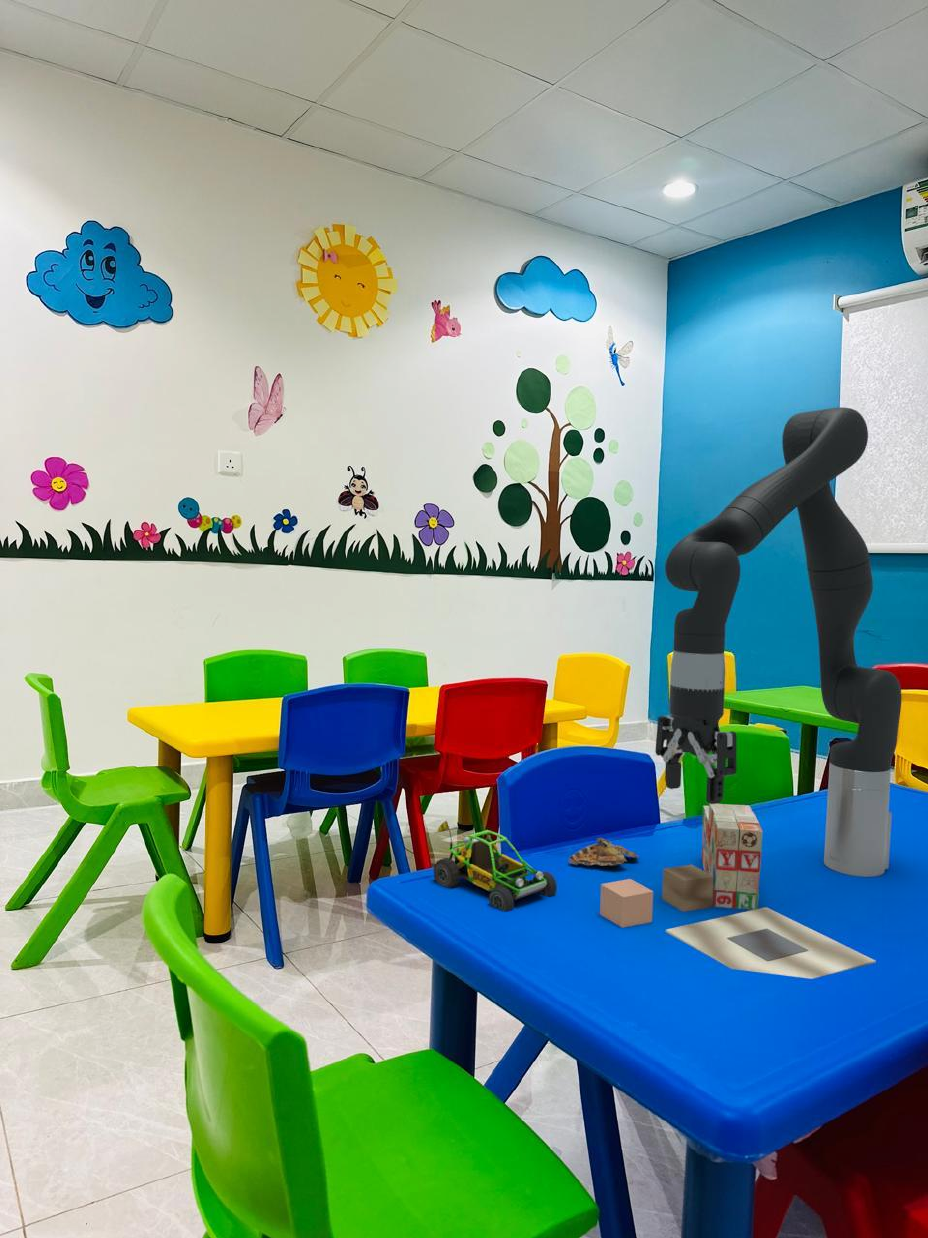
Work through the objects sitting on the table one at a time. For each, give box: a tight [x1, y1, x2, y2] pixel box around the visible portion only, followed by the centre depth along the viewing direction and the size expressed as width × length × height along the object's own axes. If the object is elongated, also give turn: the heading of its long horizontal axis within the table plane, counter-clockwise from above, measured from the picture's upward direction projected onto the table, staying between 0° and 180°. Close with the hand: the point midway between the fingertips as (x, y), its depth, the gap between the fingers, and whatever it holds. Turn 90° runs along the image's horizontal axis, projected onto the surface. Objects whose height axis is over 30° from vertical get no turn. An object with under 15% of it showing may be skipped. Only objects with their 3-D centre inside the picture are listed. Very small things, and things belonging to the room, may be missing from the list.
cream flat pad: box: [665, 906, 876, 980], centre depth 115 cm, size 18×18×1 cm
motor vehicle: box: [433, 820, 558, 912], centre depth 134 cm, size 11×18×10 cm, turn 43°
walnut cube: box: [661, 864, 713, 912], centre depth 129 cm, size 5×5×5 cm
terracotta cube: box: [599, 878, 654, 929], centre depth 123 cm, size 5×5×5 cm
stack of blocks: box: [701, 803, 763, 911], centre depth 138 cm, size 21×6×12 cm, turn 170°
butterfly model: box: [568, 837, 640, 867], centre depth 147 cm, size 9×12×3 cm
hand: (692, 795), depth 128 cm, fingers open, 8 cm apart
